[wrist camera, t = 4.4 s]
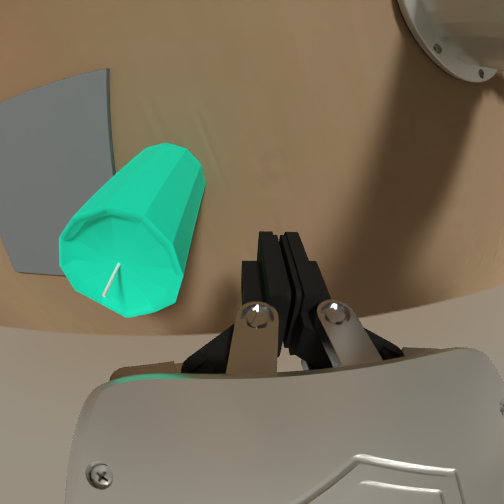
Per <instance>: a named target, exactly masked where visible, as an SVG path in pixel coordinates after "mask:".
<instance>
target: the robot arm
mask: <svg viewBox="0 0 504 504" xmlns="http://www.w3.org/2000/svg"><path fill="white" fill-rule="evenodd" d="M397 1H398V3H399V7H400V10H401V13H402V15H403V17H404V19H405V21H406V23H407V26H408V27H409V29H410V31H411V32H412V34H413V36H414V38H415V39H416V41H417V42H418V43H419V45H420V46H421V47H422V49H423V50H424V52H425V53H426V54H427V55H428V56H429V57H430V58H431V59H432V60H433V61H434V62H435V63H436V64H437V65H438V66H439V67H440V68H442V69H443V70H444V71H446V72H447V73H449V74H450V75H452V76H453V77H456V78H458V79H461V80H464V81H469V82H484V81H487V80H489V79H490V78H492V77H493V76H494V75H495V74H496V72H497V71H498V70H502V71H504V0H397ZM241 292H242V306H241V307H240V308H239V309H238V312H237V314H236V320H235V324H233V325H232V326H231V327H229V328H228V329H227V330H225V331H224V332H223V333H221V334H220V335H218V336H217V337H216V338H214V339H213V340H212V341H210V342H209V343H208V344H206V345H205V346H204V347H202V348H201V349H199V350H198V351H197V352H195V353H194V354H192V355H191V356H190V357H188V358H187V360H185V361H184V363H178V364H174V361H172V362H165V363H158V364H149V365H140V366H131V367H124V368H120V369H118V370H116V371H115V372H114V373H113V374H112V375H111V377H110V381H108V382H106V383H104V384H102V385H100V386H98V387H97V388H95V389H94V390H93V391H92V392H91V393H90V394H89V396H88V397H87V399H86V401H85V403H84V405H83V407H82V410H81V412H80V415H79V418H78V421H77V424H76V428H75V432H74V435H73V440H72V445H71V451H70V457H69V462H68V470H67V480H66V493H65V504H504V382H503V379H502V378H501V376H500V374H499V372H498V370H497V369H496V367H495V365H494V364H493V363H492V361H491V360H490V359H489V357H488V356H487V355H486V354H484V353H483V352H481V351H478V350H476V349H471V348H460V347H455V348H446V349H434V348H433V349H432V348H407V347H403V348H402V350H400V348H398V347H397V346H396V345H394V344H392V343H391V342H389V341H387V340H385V339H383V338H382V337H380V336H378V335H376V334H374V333H372V332H371V331H369V330H367V329H365V328H364V327H363V326H362V324H361V322H360V321H359V319H358V318H357V316H356V314H355V313H354V311H353V310H352V308H351V307H350V306H349V305H347V304H346V303H344V302H342V301H339V300H331V298H330V295H329V292H328V290H327V287H326V285H325V282H324V279H323V277H322V274H321V272H320V269H319V267H318V264H317V262H316V261H309V260H308V257H307V255H306V252H305V249H304V247H303V244H302V241H301V239H300V236H299V234H298V232H285V233H284V235H280V239H279V241H278V237H277V235H273V233H272V232H264V231H260V232H259V239H258V253H257V261H242V276H241ZM282 343H283V344H284V347H285V348H289V353H290V355H297V356H298V357H300V358H301V359H302V360H301V364H302V367H303V370H304V371H292V372H277V358H278V357H279V356H280V352H281V346H282ZM108 466H109V467H108Z"/></svg>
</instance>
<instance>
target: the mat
mask: <svg viewBox="0 0 504 504" xmlns="http://www.w3.org/2000/svg"><path fill="white" fill-rule="evenodd" d="M114 175H115V166H114V157H113V146H112V135H111V120H110V97H109V69H108V68H106V69H101V70H97V71H93V72H88V73H84V74H80V75H77V76H73V77H69V78H66V79H62V80H59V81H56V82H53V83H50V84H47V85H44V86H41V87H38V88H35V89H33V90H30V91H27V92H25V93H22V94H20V95H17V96H15V97H13V98H10V99H8V100H6V101H4V102H1V103H0V236H1V239H2V241H3V244H4V246H5V249H6V251H7V254H8V256H9V259H10V261H11V263H12V266H13V268H14V270H15V272H25V273H37V274H51V275H65V274H64V272H63V271H62V269H61V267H60V265H59V236H60V235H61V233H62V232H63V230H64V229H65V227H66V226H67V224H68V223H69V221H70V220H71V218H72V217H73V216H74V215H75V214H76V213H77V212H78V210H79V209H80V208H81V207H82V206H83V205H84V204H85V203H86V202H87V201H88V200H89V199H90V198H91V197H92V196H93V195H94V194H95V193H96V192H97V191H98V190H99V189H100V188H101V187H102V186H103V185H104V184H106V183H107V182H108V181H109V180H110V179H111V178H112V177H113V176H114ZM65 276H66V275H65Z"/></svg>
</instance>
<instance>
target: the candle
mask: <svg viewBox="0 0 504 504" xmlns="http://www.w3.org/2000/svg"><path fill="white" fill-rule="evenodd" d="M205 185H206V183H205V179H204V174H203V169H202V165H201V163H200V162H199V161H198V160H197V159H196V158H195V157H194V156H193V155H192V154H191V153H190V152H189V150H188V149H186V148H183V147H179V146H176V145H173V144H169V143H163V144H159V145H155V146H151V147H147V148H145V149H144V150H143V151H142V152H140V153H139V154H138V155H137V156H136V157H134V158H133V159H132V160H131V161H130V162H129V163H128V164H126V165H125V166H124V167H123V168H122V169H121V170H120V171H118V172H117V173H116V174H115V175H114V176H113V177H112V178H111V179H110V180H109V181H108V182H107V183H106V184H104V185H103V186H102V187H101V188H100V189H99V190H98V191H97V192H96V193H95V194H94V195H93V196H92V197H91V198H90V199H89V200H88V201H87V202H86V203H85V204H84V205H83V206H82V207H81V208H80V209H79V210H78V212H77V213H76V214H75V215H74V216H73V217H72V218H71V220H70V221H69V223H68V224H67V226H66V227H65V229H64V230H63V232H62V233H61V235H60V236H59V265H60V267H61V269H62V271H63V272H64V274H65V275H66V277H67V279H68V280H69V282H70V283H71V285H72V286H73V288H74V289H75V290H76V291H78V292H79V293H81V294H83V295H85V296H87V297H88V298H90V299H92V300H94V301H96V302H98V303H100V304H102V305H103V306H105V307H107V308H109V309H111V310H113V311H115V312H117V313H118V314H120V315H122V316H124V317H126V318H129V317H134V316H139V315H144V314H149V313H153V312H157V311H159V310H161V309H163V308H165V307H167V306H170V305H172V304H174V303H176V299H177V296H178V292H179V289H180V286H181V283H182V279H183V276H184V271H185V267H186V262H187V258H188V253H189V249H190V245H191V240H192V236H193V232H194V228H195V224H196V220H197V216H198V212H199V208H200V204H201V200H202V196H203V192H204V189H205Z"/></svg>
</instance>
